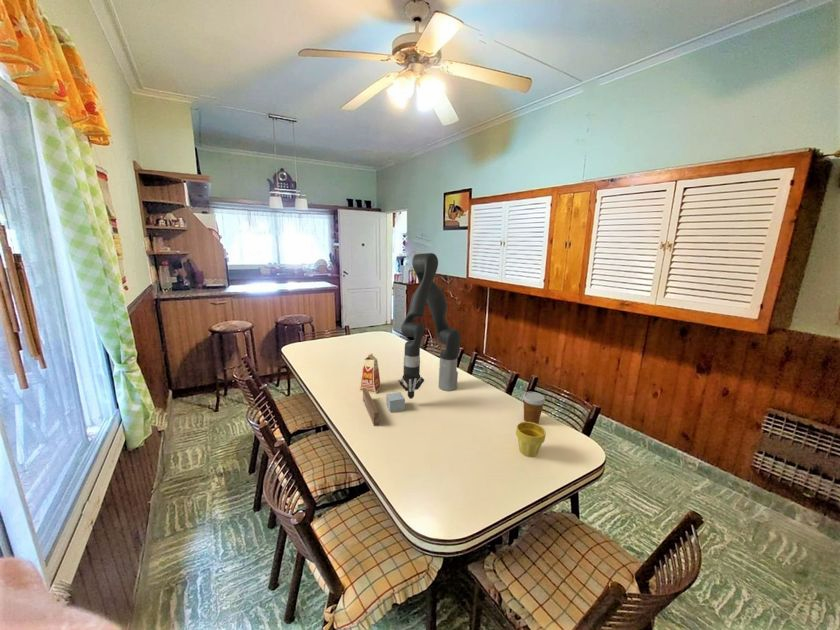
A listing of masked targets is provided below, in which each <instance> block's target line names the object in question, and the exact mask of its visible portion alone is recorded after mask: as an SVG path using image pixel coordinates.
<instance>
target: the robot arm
mask: <svg viewBox="0 0 840 630" xmlns="http://www.w3.org/2000/svg"><path fill="white" fill-rule="evenodd" d="M411 263H412V269H413V271H414V273H415V275H416V277H417V280H418V282H419V285H418V286H417V288H416V289H415V291H414V292H413V294H412V296H411V299H410V304H409V309H408V312H407V313H406V316H405V318H404V320H403V322H402V325H401V327H400V330H401V331H400V332H401V334H402V336H405V337H408V338H409V337H410V338H414V339H413V340H409V341H408V340H407V341H406V342H405V343H404V356H403V375H402V378H401V379H398V380H397V382H398V384H399V385H400V386H401V388H402V389H404V390H405V392H407V397H408V398H409V399H414V398H415V391H416V390H419V388H420V387H421V386H422V384H423V383H424V382H425V378H423V377H422V376H421V374H420V371H421V370H420V368H421V356H420V355H421V354H420V352H421V344H422V341H423V337H424V334H425V329H426V328H425V326H424V324H423V323H421V322H418V321H414V320H415V319H418V318H419V319H420V318H423V317H424V315H425V308H426V305H427V306H428V308H429V309H428V310H429V311H430V313H431V317H432V320H433V323H434V325H435V326H434V327H435V330H436V335H437V340H438V341H439V342H440V343H441V344H444V345H446V346H445V349H443V350H441V351H440V352H439V367H438V388H439V389H440V390H442V391H446V392H451V391H453V390H455V389H457V388H458V379H459V378H458V375H459V372H458V370H457V368H458V367H457V366H458V355H459V352H460V347H461V336H462V335H461V333H460V331H459V330H458V329H456V328H452V327H450V326H449V323H448V322H447V317H446V315H447V312H448V303H447V299H446V295H445V293H444V291H443V290H442V289H441V288H440V287H439V285H437V283H435V281H434V278H435V276H436V273H437V271H438V267H439V258H438V257H437V255H436V253H434V252H428V253H418V254H414V255H413V257H412V262H411ZM405 384H406V385H405Z"/></svg>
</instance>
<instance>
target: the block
mask: <svg viewBox="0 0 840 630" xmlns="http://www.w3.org/2000/svg"><path fill="white" fill-rule="evenodd" d="M385 396H386V397H385V398H386V399H385V400H386V401H385V406H386V408H387V410H388V411H389V413H390V412H391V413H397V411H398V412H403V410H404V411H405V410H406V408H405V406H406V405H405V403H406V399H405V397H404V395H403V394H402V392H401V391H400V392H398V391H397V392H392V393H386V395H385Z"/></svg>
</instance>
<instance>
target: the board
mask: <svg viewBox="0 0 840 630" xmlns="http://www.w3.org/2000/svg"><path fill="white" fill-rule="evenodd" d="M362 401H363V403H365V404H364V406H365V408H366V411H367V413H368V415H369V418H370V421H371V423H372V425H373V427H374V426H375V427H376V426H379V411H378V408H377V406H376V404H375V402H374V400H373V398H372V396H371V393H369V391H368V389H367V388H364V389H363V392H362Z"/></svg>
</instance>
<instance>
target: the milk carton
mask: <svg viewBox="0 0 840 630" xmlns="http://www.w3.org/2000/svg"><path fill="white" fill-rule="evenodd" d="M378 363H379V362H378V358H376V357H375V355H373V352H371V353H369V354H368V355H367V357H365V359H364V362H363V366H362V372H361V373H362V375H361V380H360V386H359V389H358V392H361V391H362V392H361V393H363V389H364V388H367V389H368V391H369V394H373V395H374V394H377V393H378V391H379V390H380V388H381V377H380V369H379V364H378Z"/></svg>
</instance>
